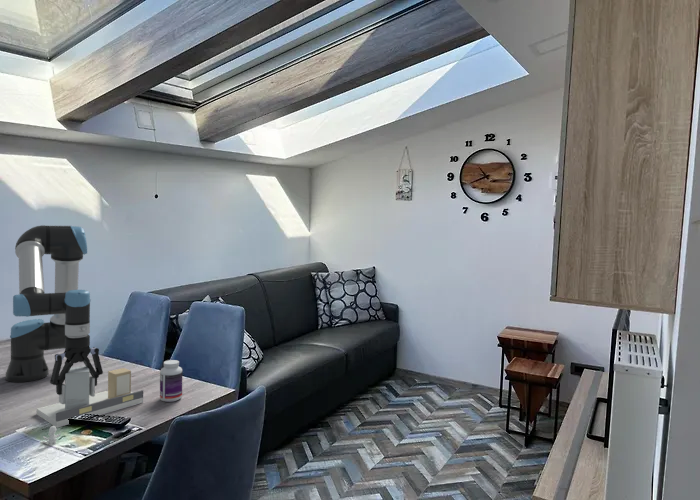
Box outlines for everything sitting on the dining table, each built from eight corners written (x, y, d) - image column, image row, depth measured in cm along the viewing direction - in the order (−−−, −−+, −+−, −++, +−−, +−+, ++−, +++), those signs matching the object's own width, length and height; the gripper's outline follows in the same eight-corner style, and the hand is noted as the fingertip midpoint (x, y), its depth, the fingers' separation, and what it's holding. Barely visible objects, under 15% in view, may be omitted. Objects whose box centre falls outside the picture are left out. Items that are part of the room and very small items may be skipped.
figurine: (30, 447, 149) (30, 428, 148) (54, 437, 156) (54, 418, 155) (49, 453, 146) (49, 433, 145) (72, 442, 153) (72, 423, 152)
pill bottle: (186, 397, 193) (187, 360, 192) (172, 404, 185) (173, 366, 184) (169, 393, 195) (169, 357, 194) (154, 400, 188) (155, 363, 187)
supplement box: (89, 407, 171) (89, 371, 170) (64, 410, 167) (64, 373, 166) (89, 399, 177) (89, 365, 176) (65, 402, 174) (65, 367, 173)
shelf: (36, 414, 171) (36, 401, 171) (121, 392, 195) (121, 380, 195) (57, 427, 162) (57, 414, 161) (143, 402, 185) (143, 390, 185)
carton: (107, 397, 183) (108, 371, 183) (123, 393, 188) (124, 367, 187) (115, 401, 180) (115, 374, 180) (130, 397, 185) (131, 370, 184)
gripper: (47, 343, 160) (47, 411, 161) (114, 332, 177) (113, 393, 179) (37, 338, 164) (37, 405, 166) (103, 328, 182) (103, 388, 183)
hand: (77, 399), depth 172 cm, fingers closed on supplement box, 9 cm apart
